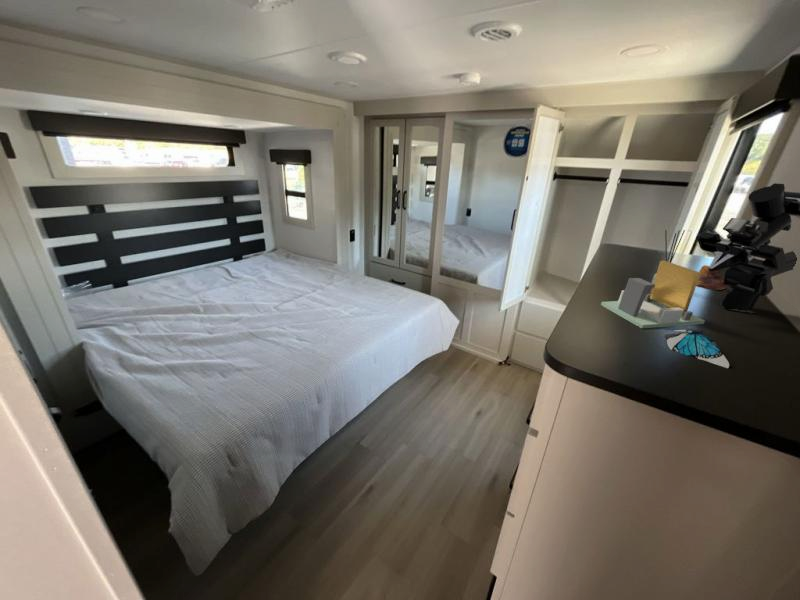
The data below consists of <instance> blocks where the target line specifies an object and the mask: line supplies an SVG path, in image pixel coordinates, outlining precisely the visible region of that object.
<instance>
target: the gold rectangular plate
mask: <svg viewBox="0 0 800 600" xmlns="http://www.w3.org/2000/svg"><path fill="white" fill-rule="evenodd" d="M656 273H657V274H656ZM656 273H655V274H656V278H655V281H654V284H655V287H654V288H651V293H650V294H651V295H650V298H649V301H651V302H653V303H655V304H658V305H660V306H662V307H664V308H681V309H683V310H684V312H688V311H689V307H690V304H691V301H692V299H693V297H694V294H695V290H696V288H697V286H696V285H697V282H698V279H699V276H700V272H699V271H697V270H695V269H691V268H688V267H684V266H682V265H678V264H676V263H672V262H671V263H670V261H668V262H667V261H666V260H660V261H659V264H658V267H657V272H656ZM684 312H683V314H684ZM683 314H682V316H683Z"/></svg>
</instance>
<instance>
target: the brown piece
mask: <svg viewBox="0 0 800 600" xmlns="http://www.w3.org/2000/svg"><path fill="white" fill-rule="evenodd" d="M709 266H710V265H706V264H705V265H702V266H701V268H700V270H699V271H698V272H700V276H699V279H698V282H697V285H696V288H701V287H702V288H703V289H706V290H709V289H713V290H712V291H717V290H722V291H724V290H723V289H726V288H728V285H724V284H723V283H724V278H725V277H723V276H722V275H720V274H721V271H722V270H723V269H720V270H717V271H713V272H712V271H709V269H708V268H709ZM726 290H727V289H726Z"/></svg>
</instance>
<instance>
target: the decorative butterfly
mask: <svg viewBox="0 0 800 600" xmlns="http://www.w3.org/2000/svg"><path fill="white" fill-rule="evenodd" d="M712 331H715V330H714V329H713V330H712ZM673 332H677V333H665V334H664V335H663V336H664V338H665V339H666V343H667V346H668V348H669V349H670V350H671V351H672V350H673V352H675V351H676V352H675V353H678V352H679V353H678V354H681V353H682V355H685V356H688V355H689V356H688V357H691V356H692V357H695V358H697V359H698V360H701V361H705V362H708V363H710V364H714V365H717V366H718V367H723V368H725V369H729V367H730V362H729V361H728V359H727V358H726V356H725V355H724V354H723V352H722V351H721V350H720V349H719V348H718V347H717V343H716V342H715V341H714V340H713V339H712V338H710V337H708V336H707V335H705V334H704V331H703V330H694V329H693V330H692V329H679V330H678V329H677V330H676V329H675V330H673ZM705 333H708V331H705ZM709 334H711V335H712V333H710V332H709ZM713 335H715V336H716V334H714V333H713ZM718 336H720V337H721V335H718Z"/></svg>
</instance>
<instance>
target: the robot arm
mask: <svg viewBox="0 0 800 600" xmlns="http://www.w3.org/2000/svg"><path fill="white" fill-rule="evenodd" d="M785 189H786V188H785V183H778V182H777V183H776V182H775V183H772V184H771V185H769V186H764V187H761V188H759V189H756V190H753V191H752V192H751V193H749V195H748V202H749V206H750V209H751V213H752V216H753V217H755V220H753V221H751V220H748V219H742V218H736V217H731V218H730V219H729V220H728V221H727V223H726V224H725V225H724V226H723V228H722V230H723V231H726V232H727V233H728V234H726V239H725V238H721V236H720V234H719V233H714V232H710V231H702V232H701V233H699V234H698V235H697V236H696V240H697V242H698V245H699V248H700V249H701V251H704V252H709V253H712V254H713V253H715V256H714V257H713V260H712V261H711V262H710V265H708V266H709V268H708V269H709V271H712V272H713V271H717V270H720V269H722V270H723V269H726V270H725V272H724V277H723V278H724V283H723V284H724V285H728V288H727V289H726V290H723V291H722V294H721V295H720V297H719V299H718V300H717V303H718V304H719V306H721V307H722V306H723V307H724V308H725V309H724V308H723V307H722V308H723V309H724V310H726V309H738V310H745V311H746V310H750V311H751V310H752V311H753V309H754V307H755V305H756V304H757V301H758V300H759V298H760V296H762V297H766V296H768V295H769V294H770V293H771V291H773V289H774V287H773V283H772V282H773V281H772V278H773V277H775V276H778V275H782V274H783V273H786V272H790V271H793V270H794V269H793V267H794V266H795V264H796V261H797V257H796V255H795V253H794V252H793V251H794V250H792V251H789V252H786V253H785V250H784V248H783V247H780V246H776V245H771V244H770V243H771V239H772V238H773V237H775V236H776V235H777V234H778V233H780V232H781V231H785V232H789V231H790V230H791V229H792V224H791V223H792V219H791V218H792V217H795V218H798V219H800V192H797V191H785ZM769 244H770V245H769ZM756 257H757V258H756ZM759 258H761V259H759ZM762 259H764V260H762ZM750 313H752V312H750ZM753 313H754V314H755V311H753Z"/></svg>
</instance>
